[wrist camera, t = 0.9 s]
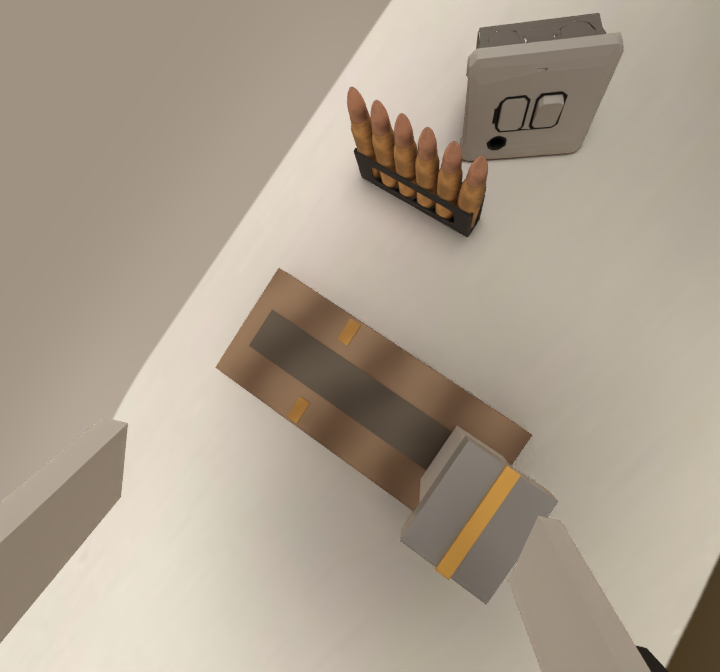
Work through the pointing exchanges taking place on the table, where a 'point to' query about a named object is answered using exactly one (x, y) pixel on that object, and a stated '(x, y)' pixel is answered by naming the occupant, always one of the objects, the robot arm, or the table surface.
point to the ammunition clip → (416, 166)
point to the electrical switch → (536, 86)
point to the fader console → (356, 389)
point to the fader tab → (474, 514)
